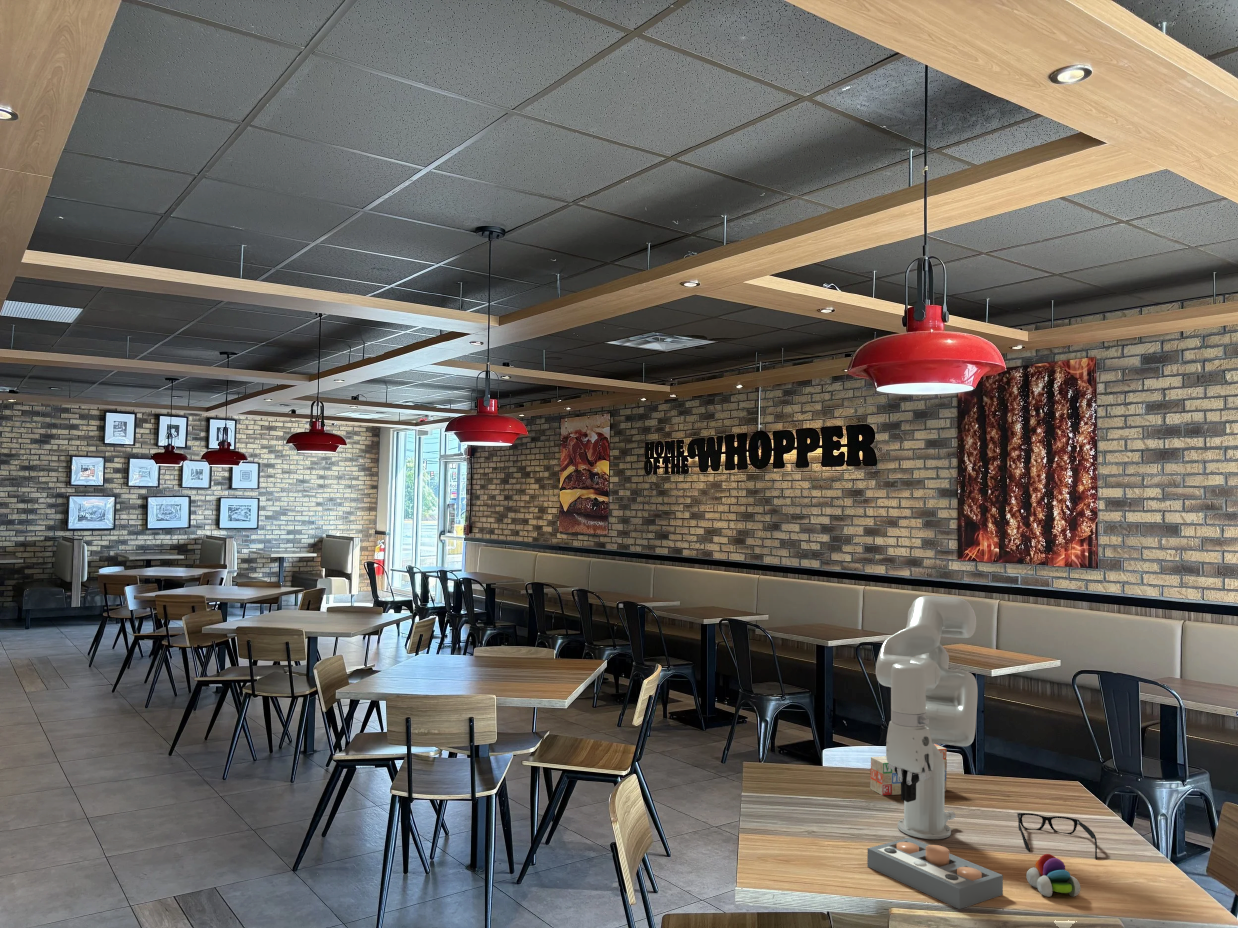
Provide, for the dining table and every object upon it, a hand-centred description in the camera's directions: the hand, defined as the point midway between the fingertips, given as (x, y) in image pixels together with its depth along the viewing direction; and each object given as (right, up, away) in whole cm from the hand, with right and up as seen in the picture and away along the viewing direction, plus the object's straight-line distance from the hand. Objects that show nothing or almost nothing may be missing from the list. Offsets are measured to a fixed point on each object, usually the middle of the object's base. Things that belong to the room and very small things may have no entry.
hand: (908, 799), depth 197 cm
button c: (+8, -12, -15) cm, 21 cm away
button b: (+4, -11, -8) cm, 14 cm away
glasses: (+41, -17, +15) cm, 47 cm away
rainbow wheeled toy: (+26, -15, -13) cm, 33 cm away
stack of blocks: (+18, -18, +54) cm, 60 cm away
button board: (+2, -14, -9) cm, 17 cm away
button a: (-1, -13, -1) cm, 13 cm away
